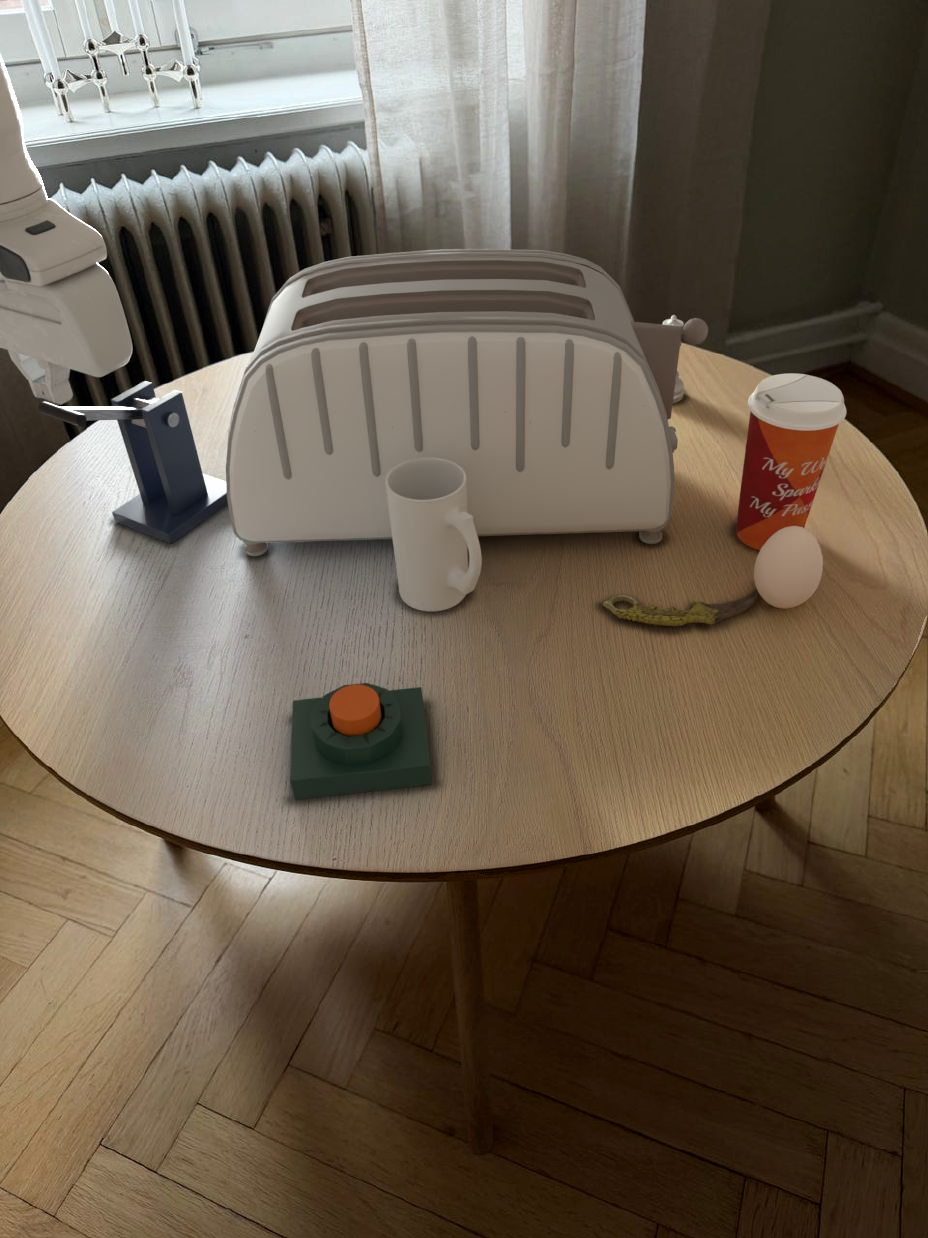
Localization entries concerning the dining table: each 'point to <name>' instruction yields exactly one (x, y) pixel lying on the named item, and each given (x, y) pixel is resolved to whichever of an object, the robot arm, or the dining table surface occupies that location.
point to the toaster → (455, 398)
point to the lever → (97, 412)
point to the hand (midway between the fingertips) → (54, 398)
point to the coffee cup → (785, 452)
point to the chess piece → (679, 383)
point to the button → (355, 710)
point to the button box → (359, 747)
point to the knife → (677, 617)
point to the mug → (432, 533)
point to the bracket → (165, 469)
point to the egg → (788, 567)
